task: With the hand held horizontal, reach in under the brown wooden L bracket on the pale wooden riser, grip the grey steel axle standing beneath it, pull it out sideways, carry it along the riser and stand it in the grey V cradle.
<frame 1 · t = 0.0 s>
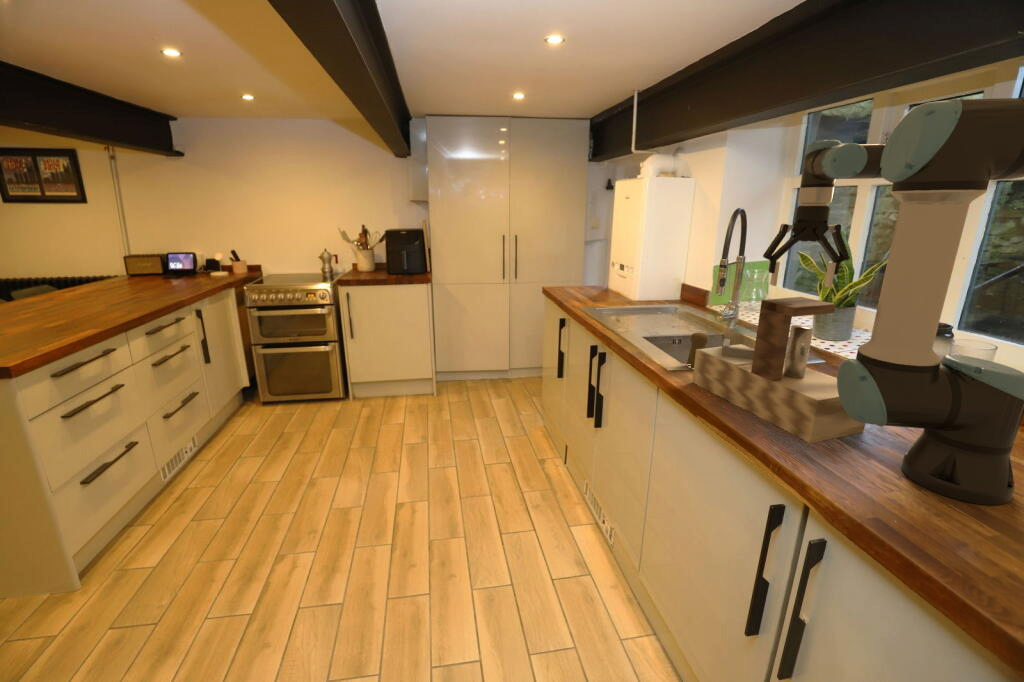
hand: (800, 285, 128), 28 cm above the countertop, tool pointing down, fingers open, 13 cm apart
brown wooden l bracket: (791, 339, 110), on the riser, point 19 cm above the countertop
riser: (767, 404, 121), on the countertop
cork: (696, 367, 149), on the countertop
axle: (797, 351, 111), on the riser, point 16 cm above the countertop
v cradle: (740, 354, 128), resting on riser
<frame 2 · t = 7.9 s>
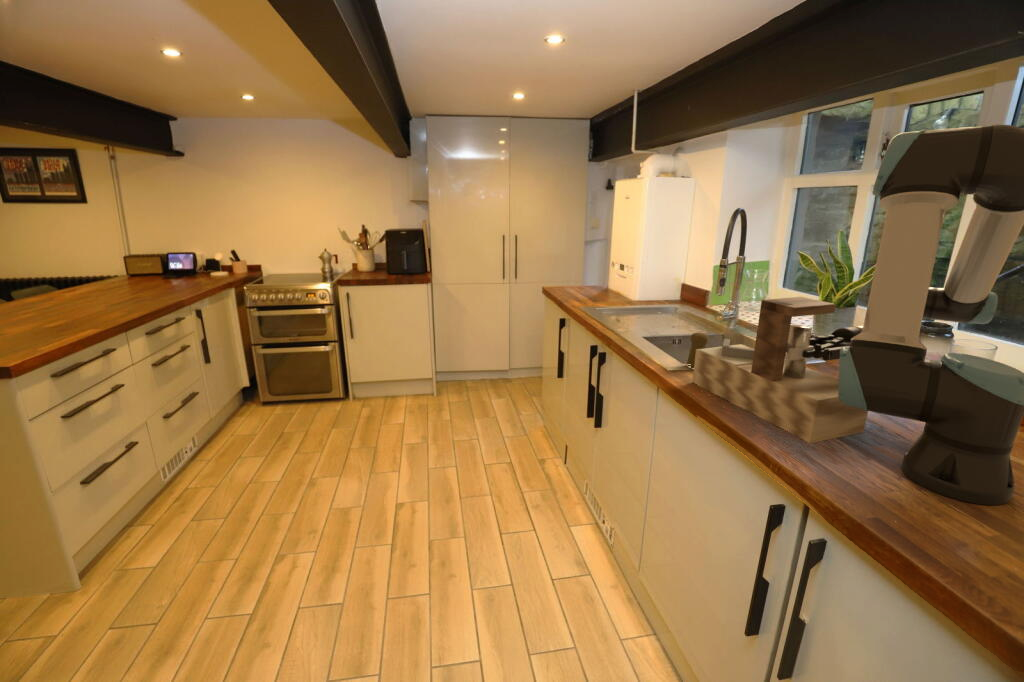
hand: (780, 351, 109), 17 cm above the countertop, tool horizontal, fingers closed on axle, 4 cm apart
axle: (797, 351, 111), on the riser, point 16 cm above the countertop, touching gripper
everything else where it was.
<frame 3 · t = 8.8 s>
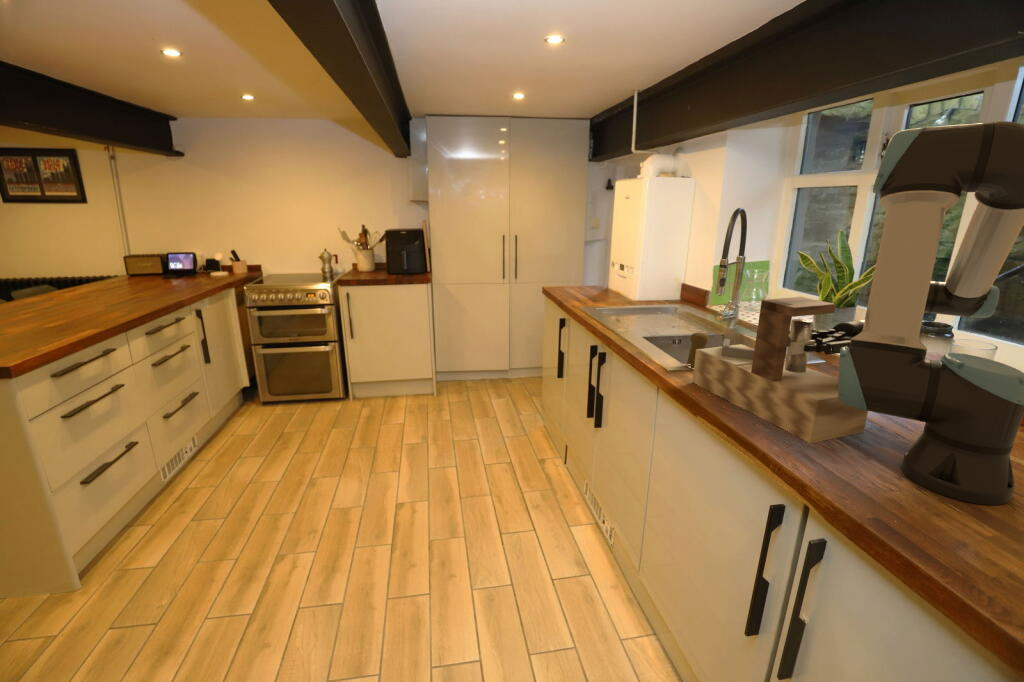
hand: (782, 345, 109), 18 cm above the countertop, tool horizontal, fingers closed on axle, 4 cm apart
axle: (798, 345, 111), point 18 cm above the countertop, touching gripper
everything else where it was.
when the fingers open (18 cm above the countertop, at t = 16.3 s): axle drops 1 cm, resting on v cradle.
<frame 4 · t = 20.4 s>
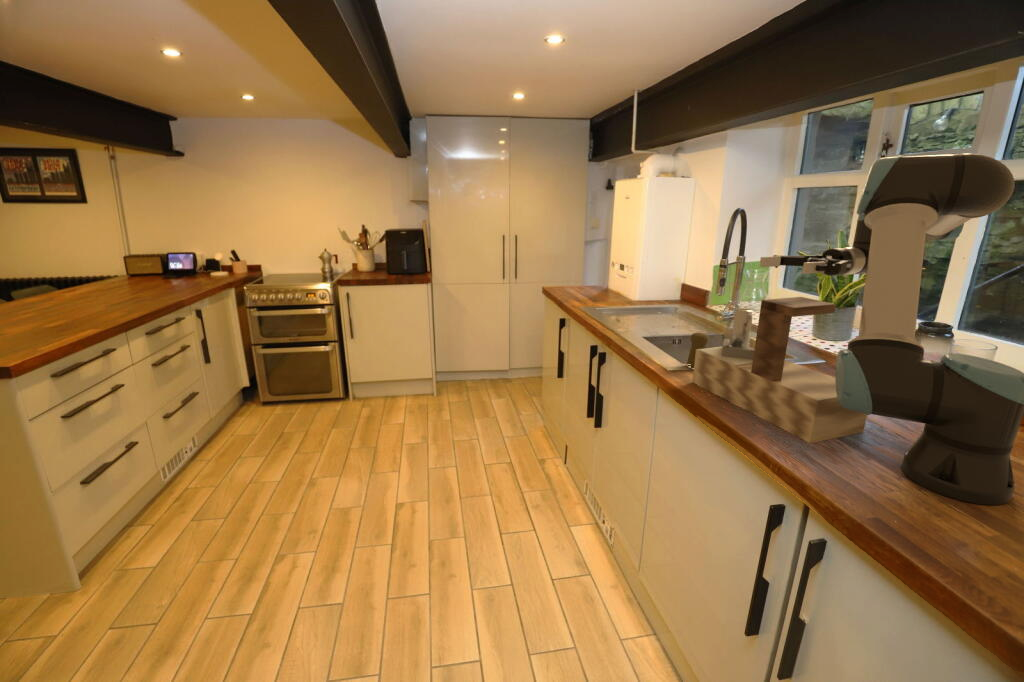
hand: (781, 265, 124), 34 cm above the countertop, tool horizontal, fingers open, 13 cm apart
axle: (741, 331, 127), point 16 cm above the countertop, touching v cradle
everything else where it was.
at the end: axle 0.3 cm off-centre on the v cradle, point 6.5 cm above the v cradle's base; axle tilted 2°; the gripper is holding nothing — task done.
